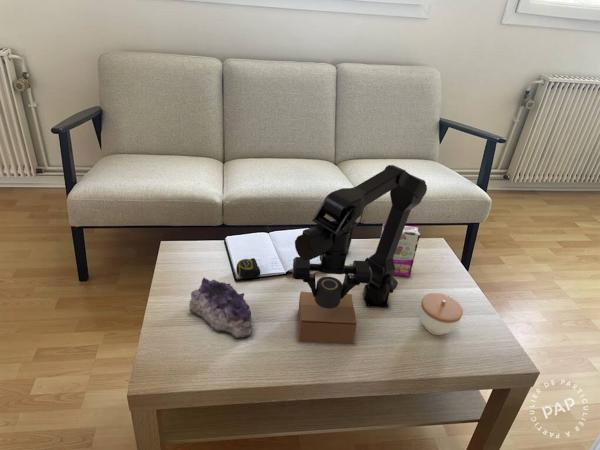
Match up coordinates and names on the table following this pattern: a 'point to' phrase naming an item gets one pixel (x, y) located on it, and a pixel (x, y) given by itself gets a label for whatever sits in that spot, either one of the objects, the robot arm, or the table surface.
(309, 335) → the carton
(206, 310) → the geode
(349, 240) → the drinking cup
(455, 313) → the trinket box
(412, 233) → the candy bar box
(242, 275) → the tape measure
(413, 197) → the robot arm
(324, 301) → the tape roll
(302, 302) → the flap
